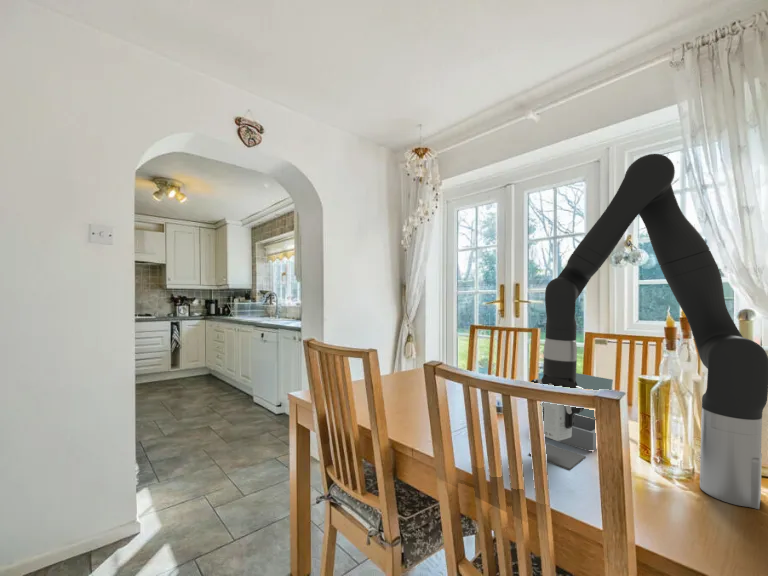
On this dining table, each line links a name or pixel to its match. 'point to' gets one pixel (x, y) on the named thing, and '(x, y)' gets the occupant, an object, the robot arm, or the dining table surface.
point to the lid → (594, 384)
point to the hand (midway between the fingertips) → (557, 424)
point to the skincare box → (556, 422)
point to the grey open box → (582, 433)
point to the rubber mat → (562, 457)
